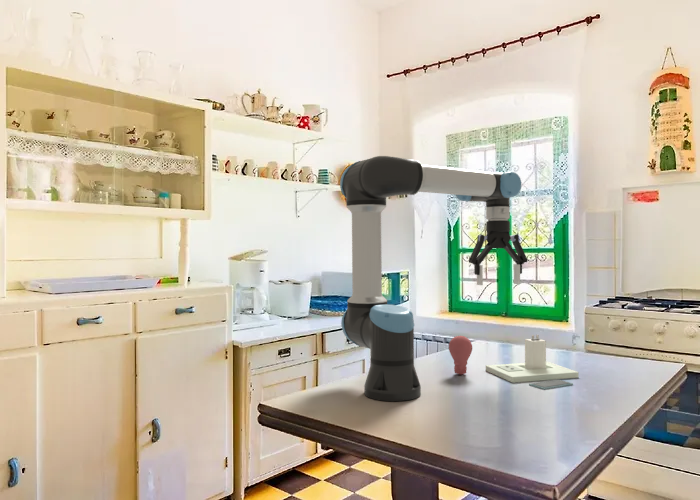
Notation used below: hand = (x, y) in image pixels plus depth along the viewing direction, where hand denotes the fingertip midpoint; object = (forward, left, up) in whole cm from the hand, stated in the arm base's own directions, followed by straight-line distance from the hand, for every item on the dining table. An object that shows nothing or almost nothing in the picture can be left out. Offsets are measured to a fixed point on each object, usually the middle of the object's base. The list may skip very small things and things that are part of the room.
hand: (498, 284), depth 182 cm
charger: (+6, -12, -27) cm, 30 cm away
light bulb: (-18, -9, -27) cm, 34 cm away
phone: (+1, -27, -27) cm, 39 cm away
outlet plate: (+3, -14, -27) cm, 30 cm away
